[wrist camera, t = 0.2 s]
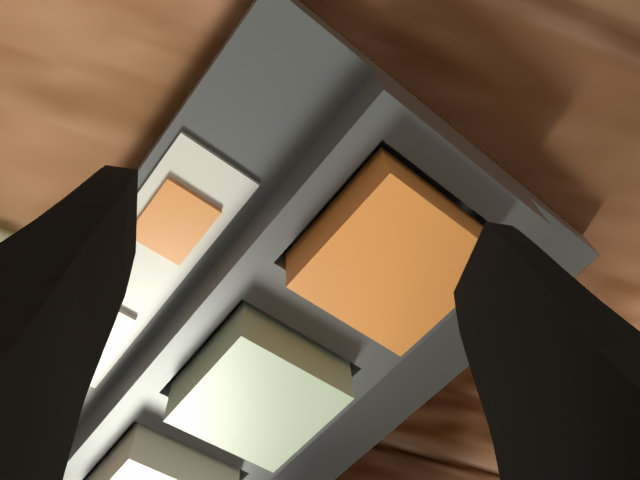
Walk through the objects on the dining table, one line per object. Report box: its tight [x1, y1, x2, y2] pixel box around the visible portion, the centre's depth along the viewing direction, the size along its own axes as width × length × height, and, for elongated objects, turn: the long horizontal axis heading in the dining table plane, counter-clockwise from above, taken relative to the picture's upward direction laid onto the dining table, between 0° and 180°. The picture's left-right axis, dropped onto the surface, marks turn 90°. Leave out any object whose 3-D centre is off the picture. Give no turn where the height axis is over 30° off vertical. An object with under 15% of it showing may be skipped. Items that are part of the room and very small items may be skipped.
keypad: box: [63, 0, 599, 480], centre depth 25 cm, size 23×16×4 cm
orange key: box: [286, 147, 484, 357], centre depth 20 cm, size 5×5×2 cm
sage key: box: [163, 301, 355, 473], centre depth 23 cm, size 5×5×2 cm
